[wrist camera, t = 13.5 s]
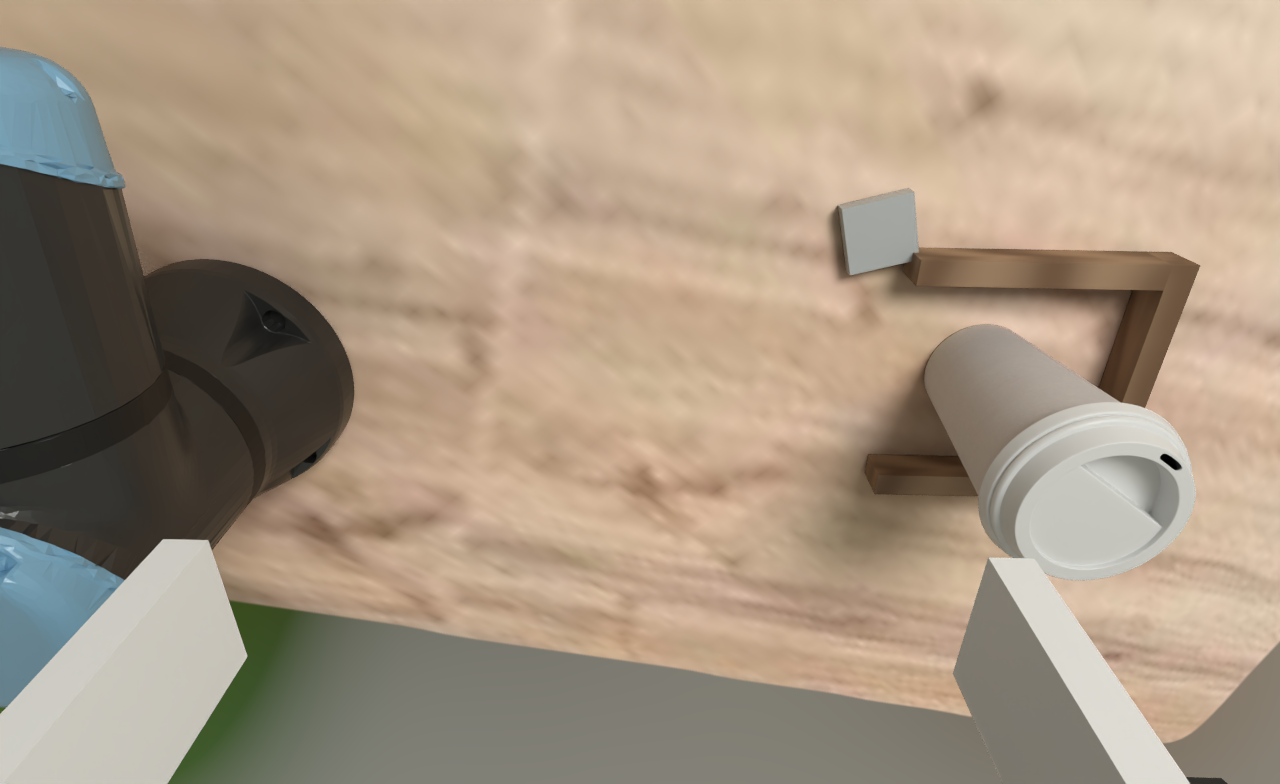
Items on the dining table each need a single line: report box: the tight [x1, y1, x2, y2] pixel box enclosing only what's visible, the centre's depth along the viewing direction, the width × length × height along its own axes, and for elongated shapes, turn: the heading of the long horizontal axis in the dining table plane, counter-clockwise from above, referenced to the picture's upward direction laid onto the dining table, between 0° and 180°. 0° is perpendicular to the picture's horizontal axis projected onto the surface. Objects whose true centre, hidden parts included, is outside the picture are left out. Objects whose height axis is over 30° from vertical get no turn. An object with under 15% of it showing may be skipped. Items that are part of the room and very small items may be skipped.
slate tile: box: [838, 188, 919, 275], centre depth 42 cm, size 4×4×1 cm
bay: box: [865, 248, 1200, 496], centre depth 45 cm, size 16×16×2 cm
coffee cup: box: [924, 324, 1196, 580], centre depth 40 cm, size 10×10×15 cm
